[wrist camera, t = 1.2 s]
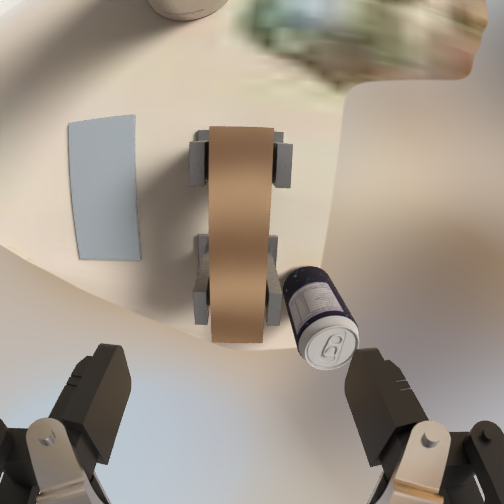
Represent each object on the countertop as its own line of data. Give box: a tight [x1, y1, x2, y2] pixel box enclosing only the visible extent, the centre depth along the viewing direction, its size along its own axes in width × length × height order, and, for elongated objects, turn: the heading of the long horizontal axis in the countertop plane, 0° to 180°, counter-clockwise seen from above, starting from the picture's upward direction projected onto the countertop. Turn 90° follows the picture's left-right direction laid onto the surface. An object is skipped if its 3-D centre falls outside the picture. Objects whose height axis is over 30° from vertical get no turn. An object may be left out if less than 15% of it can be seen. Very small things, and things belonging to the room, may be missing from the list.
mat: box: [69, 115, 142, 261], centre depth 30 cm, size 16×8×1 cm, turn 178°
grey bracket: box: [193, 234, 282, 326], centre depth 29 cm, size 5×8×11 cm, turn 88°
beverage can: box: [283, 266, 359, 370], centre depth 30 cm, size 6×6×12 cm
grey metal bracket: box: [189, 130, 293, 188], centre depth 25 cm, size 5×8×11 cm, turn 88°
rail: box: [209, 126, 274, 343], centre depth 23 cm, size 16×4×4 cm, turn 178°
